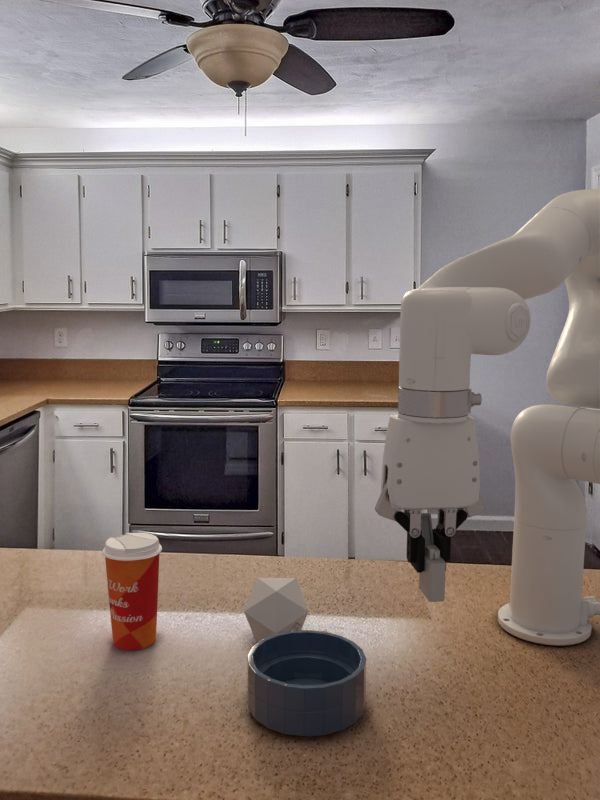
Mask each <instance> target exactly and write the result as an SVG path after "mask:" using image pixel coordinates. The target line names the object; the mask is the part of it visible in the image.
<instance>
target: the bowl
mask: <svg viewBox="0 0 600 800" xmlns="http://www.w3.org/2000/svg"><path fill="white" fill-rule="evenodd" d="M366 689H367V657H366V655H365V652H364V650H363V649H362V647H361V646H359V645H358V644H357V643H356V642H355V641H353V640H351V639H349V638H347V637H344V636H342V635H340V634H336V633H332V632H328V631H322V630H312V629H301V630H298V631H288V632H283V633H278V634H274V635H272V636H269V637H267V638H264V639H262V640H261V641H259V642H258V643H255V644H254V645H253V646H252V647H251V649H250V650H249V652H248V653H247V707H248V711H249V712H250V713H251V715H252V716H253V718H254V719H255V720H256V721H257V722H258V723H260V724H261V725H263V726H264V727H266V728H267V729H270V730H272V731H275V732H277V733H281V734H285V735H292V736H298V737H299V736H300V737H316V736H325V735H329V734H332V733H337V732H340V731H343V730H345V729H346V728H348V727H350V726H352V725H354V724H355V723H356V722H357V721H358V720H359V719H360V718H361V717H362V715H363V714H364V712H365V707H366V691H367V690H366Z"/></svg>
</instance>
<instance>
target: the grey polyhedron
mask: <svg viewBox="0 0 600 800" xmlns="http://www.w3.org/2000/svg"><path fill="white" fill-rule="evenodd" d="M243 613H244V615H245V618H246V620H247V623H248V625H249V628H250V630H251V632H252V636H253V638H254V640H255V644H257V643H258V642H259V641H261V640H262V639H264V638H267V637H269V636H272V635H274V634H278V633H283V632H288V631H298V630H303V627H304V625H305V622H306V620H307V617H308V615H309V609H308V605H307V603H306V601H305V597H304V594H303V593H302V590H301V586H300V585H299V582H298V579H297V577H257V578H256V580H255V583H254V585H253V588H252V590H251V593H250V596H249V597H248V600H247V603H246V605H245V608H244V611H243Z"/></svg>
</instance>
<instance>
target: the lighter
mask: <svg viewBox="0 0 600 800" xmlns="http://www.w3.org/2000/svg"><path fill="white" fill-rule="evenodd" d="M432 520H433V519H432V513H430V512H421V531H422V536H423V537H424V538H425V563H424V571H423V572H422V573H418V589H419V590H420V592H421V593H422V594H423V596H424V597H425V598H426V600H427V601H428V602H429V603H439V602H445V595H446V594H445V593H446V572H447V561H446V562H445V561H444V560H443V559H442V558H441V557H440V550H439V549H438V548H437V547H436V546H435V545H434V541H433V531H434V528H433V522H432Z"/></svg>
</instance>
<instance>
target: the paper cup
mask: <svg viewBox="0 0 600 800" xmlns="http://www.w3.org/2000/svg"><path fill="white" fill-rule="evenodd" d="M104 544H105V545H104V547H103V548H102V552H101V553H102V555H103V556H104V560H105V561H104V562H105V570H106V571H105V572H106V581H107V583H106V584H107V594H108V605H109V615H110V624H111V634H112V635H111V636H112V642H113V645H114V647H115V648H117V649H120V650H122V651H139V650H143V649H147V648H148V647H150V646H152V645H153V644H154V643H155V642H156V637H157V626H158V625H157V623H158V601H159V575H160V553H162V550H163V547H162V545H161V544H160V540H159V538H158V537H157V536H156V535H155V534H151V533H148V532H126V533H125V534H123V533H122V534H119V535H115V536H114V537H111V536H110V537H109V538H108V539H107V540H106V541H105V543H104Z"/></svg>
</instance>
